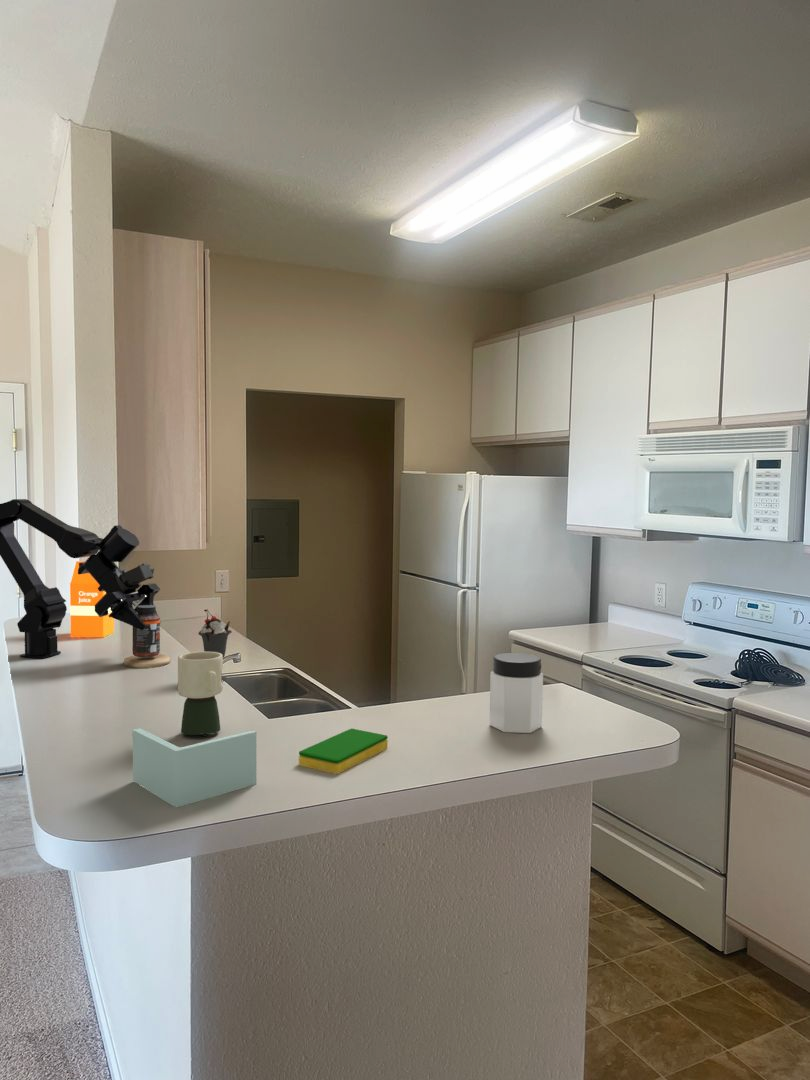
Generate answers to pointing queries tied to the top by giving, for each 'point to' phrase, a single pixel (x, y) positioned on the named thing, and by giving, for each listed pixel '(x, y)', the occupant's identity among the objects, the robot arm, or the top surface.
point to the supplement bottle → (147, 633)
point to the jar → (516, 693)
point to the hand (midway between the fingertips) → (151, 626)
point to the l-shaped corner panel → (193, 766)
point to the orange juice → (87, 607)
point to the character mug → (200, 691)
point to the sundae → (215, 636)
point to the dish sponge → (343, 750)
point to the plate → (147, 661)
